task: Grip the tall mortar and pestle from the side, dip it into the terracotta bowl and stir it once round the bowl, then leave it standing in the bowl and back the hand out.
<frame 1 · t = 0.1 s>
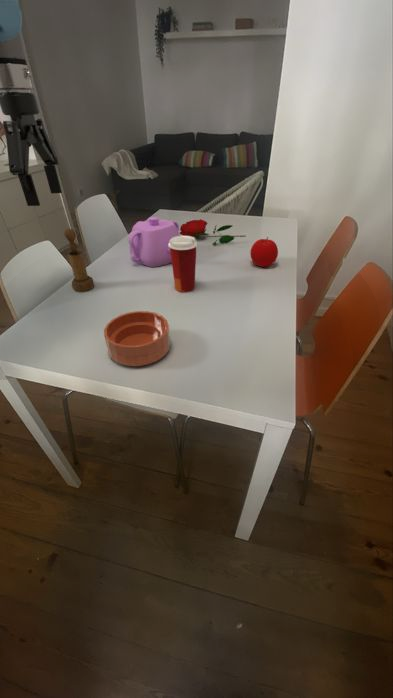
hand: (46, 199, 81), 27 cm above the table, tool pointing down, fingers open, 13 cm apart
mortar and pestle: (84, 287, 100), on the table
coffee cup: (184, 288, 99), on the table
bowl: (140, 348, 75), on the table
flower: (212, 242, 130), on the table
fruit: (262, 265, 111), on the table
teapot: (160, 259, 117), on the table
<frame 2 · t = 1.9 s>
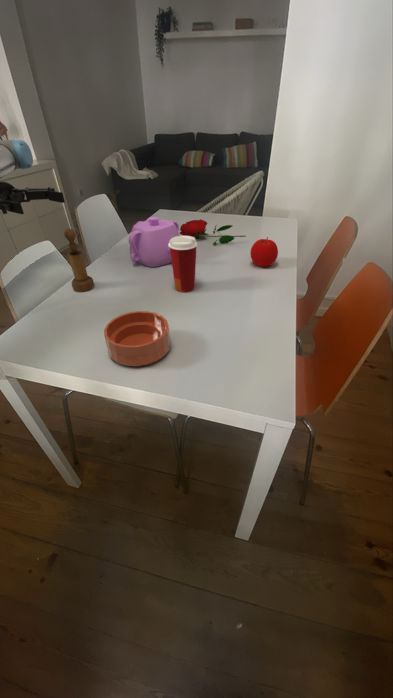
hand: (42, 202, 89), 24 cm above the table, tool horizontal, fingers open, 13 cm apart
nothing on the table moved.
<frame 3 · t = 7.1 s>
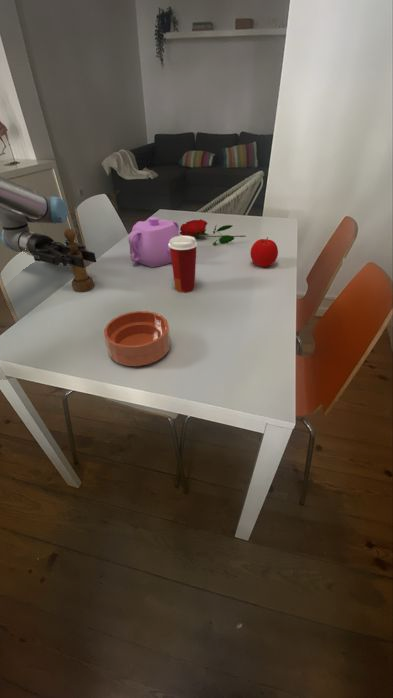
hand: (88, 260, 92), 10 cm above the table, tool horizontal, fingers closed on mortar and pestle, 4 cm apart
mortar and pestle: (84, 287, 100), on the table, touching gripper
everything else where it was.
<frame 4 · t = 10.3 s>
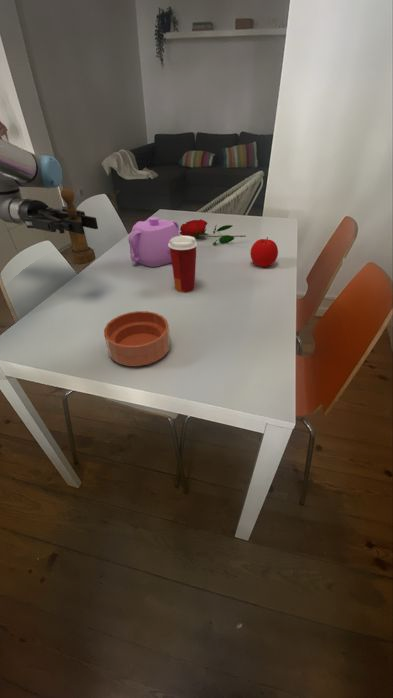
hand: (89, 225, 79), 22 cm above the table, tool horizontal, fingers closed on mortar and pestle, 4 cm apart
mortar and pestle: (83, 260, 88), point 11 cm above the table, touching gripper
everything else where it was.
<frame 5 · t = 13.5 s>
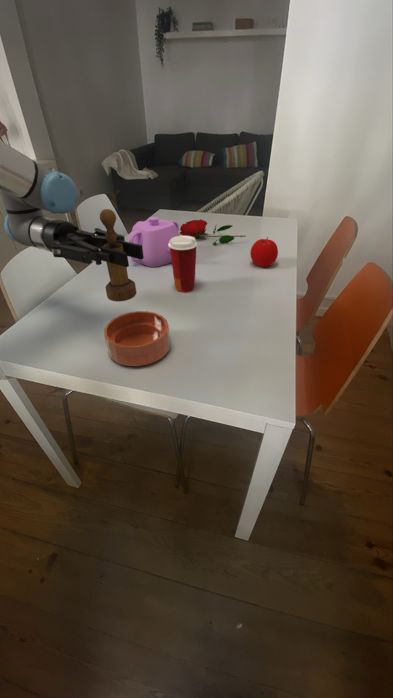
hand: (134, 256, 63), 22 cm above the table, tool horizontal, fingers closed on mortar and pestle, 4 cm apart
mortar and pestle: (122, 295, 71), point 12 cm above the table, touching gripper
everything else where it was.
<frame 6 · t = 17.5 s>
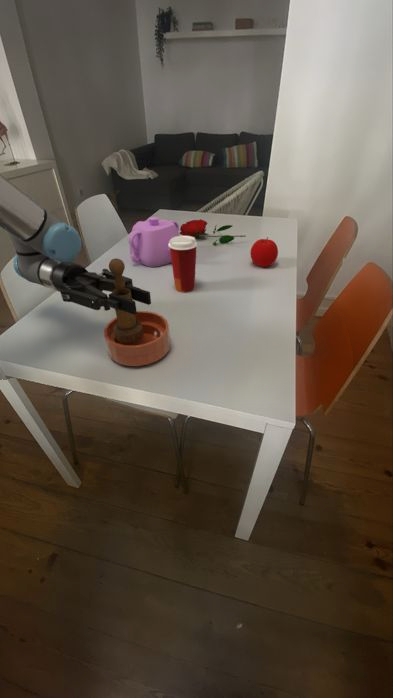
hand: (142, 303, 64), 14 cm above the table, tool horizontal, fingers closed on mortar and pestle, 4 cm apart
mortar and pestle: (129, 336, 72), point 4 cm above the table, touching gripper
everything else where it was.
when the fingers open (11 cm above the table, at t = 20.4 s): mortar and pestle stays where it is, resting on bowl.
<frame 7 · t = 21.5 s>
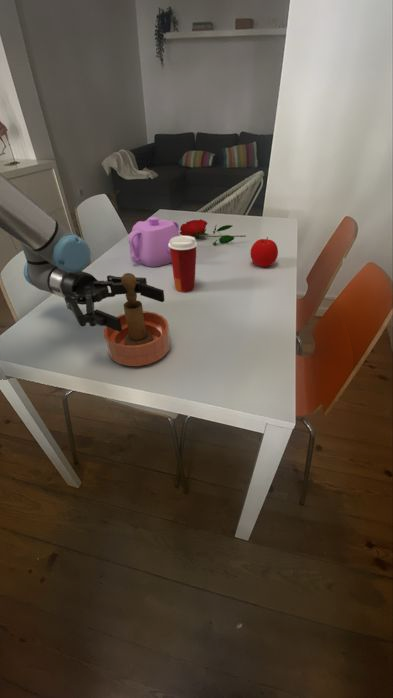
hand: (143, 309, 66), 12 cm above the table, tool horizontal, fingers open, 13 cm apart
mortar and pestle: (139, 346, 74), point 1 cm above the table, touching bowl
everything else where it was.
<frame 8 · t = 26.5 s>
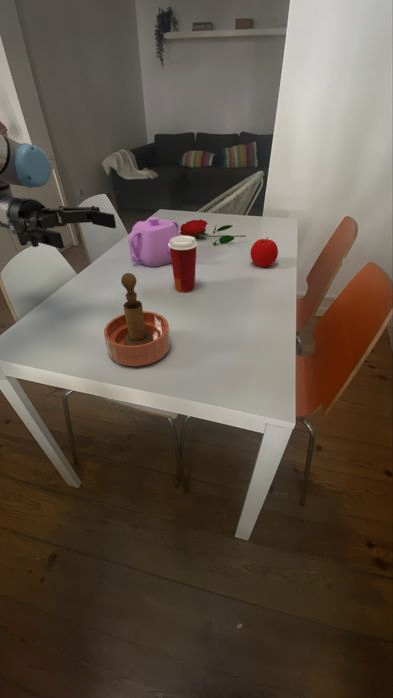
hand: (89, 230, 62), 26 cm above the table, tool horizontal, fingers open, 13 cm apart
nothing on the table moved.
at the end: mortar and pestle inside the target area in the bowl (0.0 cm from its centre), point 0.6 cm above the bowl's base; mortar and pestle tilted 0°; the gripper is holding nothing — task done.
